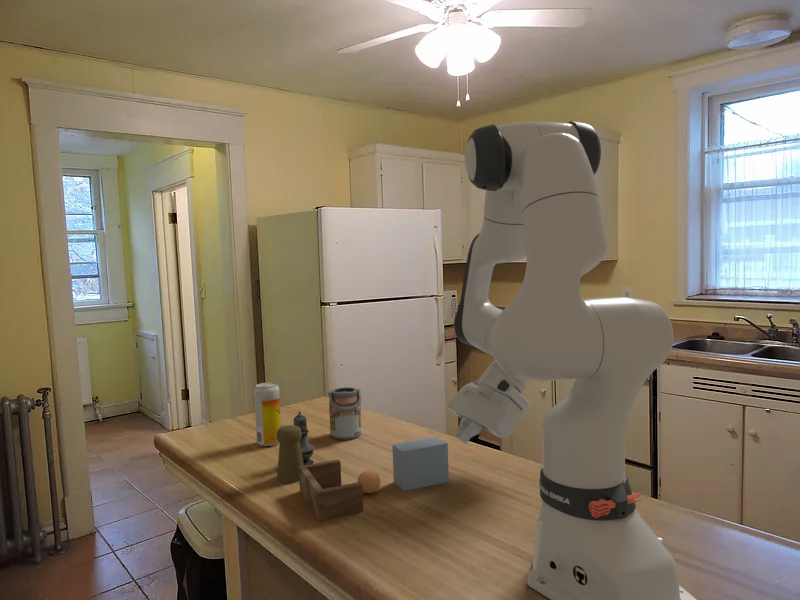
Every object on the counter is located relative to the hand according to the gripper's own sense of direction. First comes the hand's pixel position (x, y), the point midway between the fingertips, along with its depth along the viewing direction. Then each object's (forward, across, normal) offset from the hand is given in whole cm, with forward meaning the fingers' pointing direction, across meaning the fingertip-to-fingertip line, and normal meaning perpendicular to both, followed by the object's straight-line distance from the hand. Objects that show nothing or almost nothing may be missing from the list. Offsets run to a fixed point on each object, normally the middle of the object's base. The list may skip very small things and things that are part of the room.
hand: (459, 439), depth 119 cm
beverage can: (+15, -36, -4) cm, 39 cm away
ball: (+20, 0, -9) cm, 22 cm away
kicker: (+12, 0, -1) cm, 12 cm away
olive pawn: (+28, -15, -18) cm, 36 cm away
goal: (+25, 0, -15) cm, 29 cm away
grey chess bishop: (+26, -22, -15) cm, 37 cm away
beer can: (+28, -40, -18) cm, 52 cm away
